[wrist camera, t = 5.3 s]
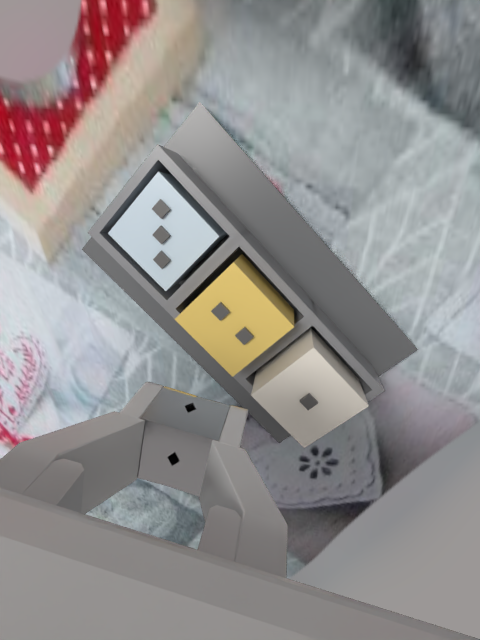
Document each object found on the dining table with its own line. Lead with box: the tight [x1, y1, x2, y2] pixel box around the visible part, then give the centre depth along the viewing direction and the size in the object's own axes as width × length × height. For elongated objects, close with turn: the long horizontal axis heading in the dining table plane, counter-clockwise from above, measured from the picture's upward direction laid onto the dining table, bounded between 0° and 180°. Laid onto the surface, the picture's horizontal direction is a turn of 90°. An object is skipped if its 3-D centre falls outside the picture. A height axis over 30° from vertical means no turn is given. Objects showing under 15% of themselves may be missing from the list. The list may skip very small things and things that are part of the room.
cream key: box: [251, 328, 369, 448], centre depth 20 cm, size 4×4×3 cm
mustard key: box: [175, 254, 294, 377], centre depth 19 cm, size 4×4×3 cm
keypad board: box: [82, 102, 418, 443], centre depth 21 cm, size 12×20×4 cm, turn 44°
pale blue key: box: [108, 171, 227, 291], centre depth 20 cm, size 4×4×3 cm
